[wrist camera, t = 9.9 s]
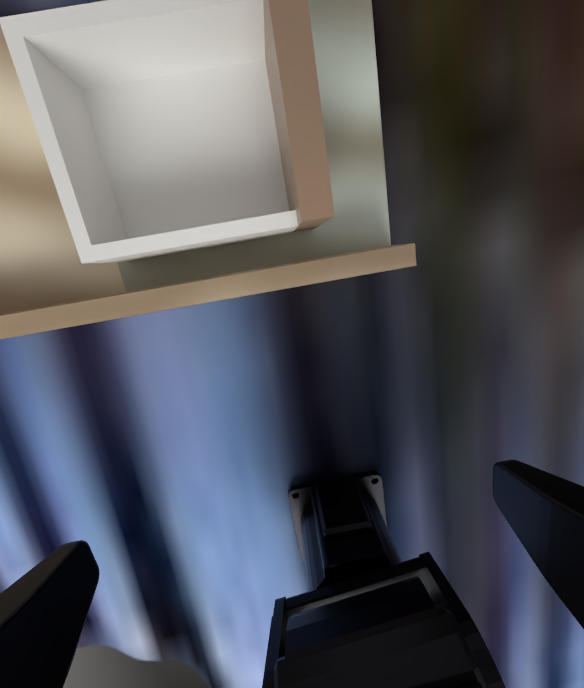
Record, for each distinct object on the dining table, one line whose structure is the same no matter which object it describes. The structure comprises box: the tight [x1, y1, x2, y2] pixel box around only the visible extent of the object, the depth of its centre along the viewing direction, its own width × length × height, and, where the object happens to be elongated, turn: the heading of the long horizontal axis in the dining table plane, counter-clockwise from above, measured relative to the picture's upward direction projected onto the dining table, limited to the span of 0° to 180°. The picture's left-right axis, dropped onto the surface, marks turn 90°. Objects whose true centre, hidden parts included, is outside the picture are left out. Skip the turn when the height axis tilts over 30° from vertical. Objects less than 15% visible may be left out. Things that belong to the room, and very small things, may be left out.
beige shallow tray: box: [0, 0, 416, 339], centre depth 15 cm, size 13×27×4 cm, turn 100°
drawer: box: [0, 0, 334, 263], centre depth 13 cm, size 8×10×6 cm
